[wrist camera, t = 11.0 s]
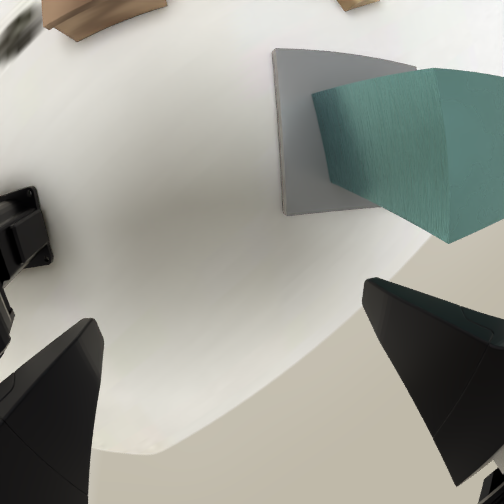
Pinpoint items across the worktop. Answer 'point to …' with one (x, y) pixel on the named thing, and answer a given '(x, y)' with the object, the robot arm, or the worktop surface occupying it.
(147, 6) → the walnut box
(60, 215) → the worktop surface
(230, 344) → the worktop surface
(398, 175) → the tall teal box
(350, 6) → the block
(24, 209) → the robot arm
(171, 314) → the worktop surface
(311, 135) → the plate
